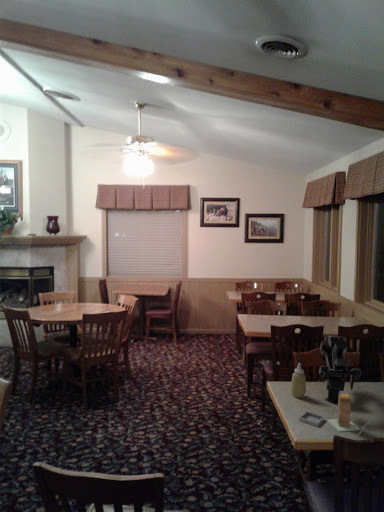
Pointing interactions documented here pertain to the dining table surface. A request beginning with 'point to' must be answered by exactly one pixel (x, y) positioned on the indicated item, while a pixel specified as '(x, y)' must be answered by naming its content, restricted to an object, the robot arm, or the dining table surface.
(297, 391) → the squeeze bottle
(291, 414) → the dining table surface
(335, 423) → the sage pad
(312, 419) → the grey square tray
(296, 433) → the dining table surface
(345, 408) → the walnut box
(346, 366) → the robot arm
